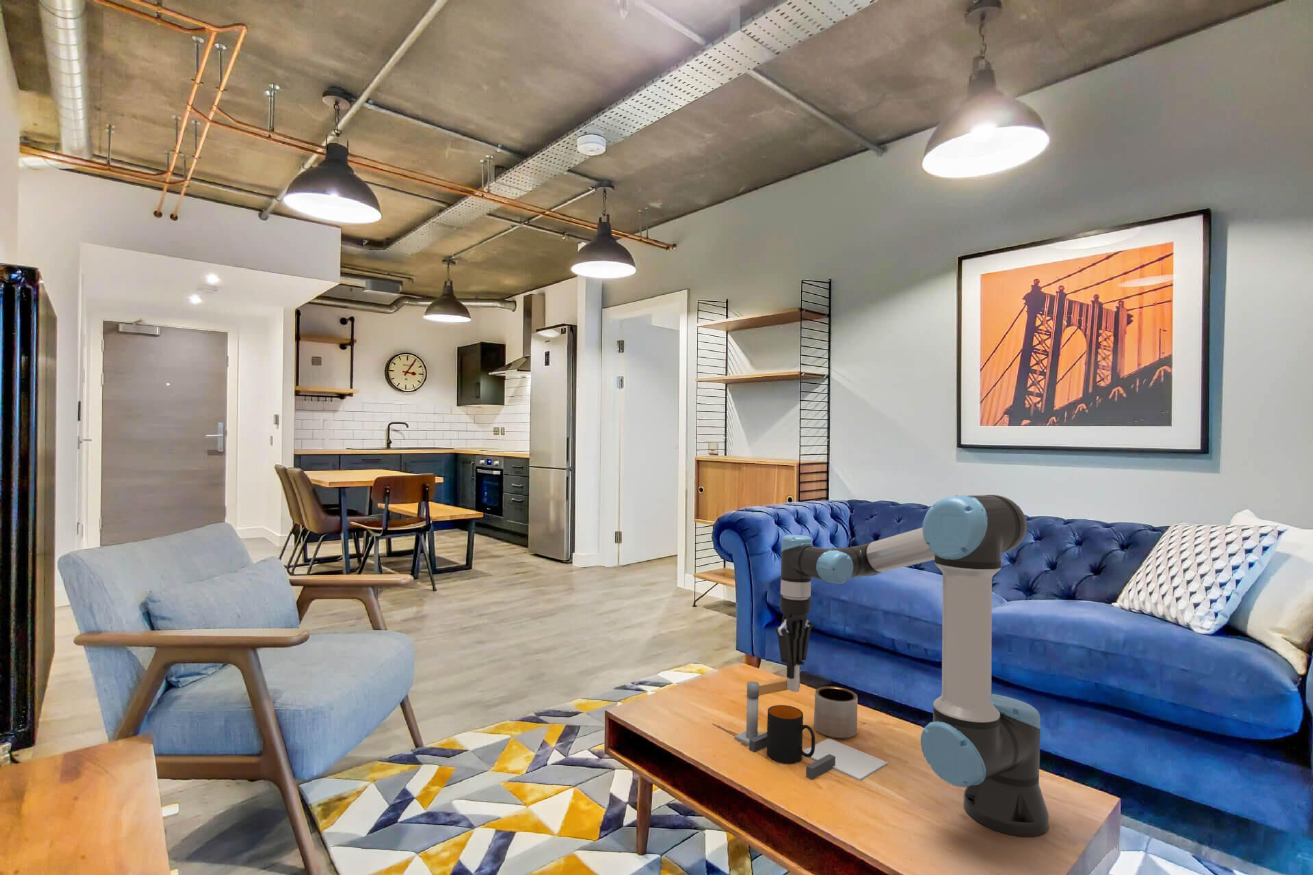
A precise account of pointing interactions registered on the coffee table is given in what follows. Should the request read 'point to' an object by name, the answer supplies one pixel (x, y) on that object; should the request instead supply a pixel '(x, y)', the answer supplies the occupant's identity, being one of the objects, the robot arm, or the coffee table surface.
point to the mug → (786, 734)
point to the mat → (847, 759)
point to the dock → (760, 741)
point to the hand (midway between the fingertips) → (792, 690)
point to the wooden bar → (766, 687)
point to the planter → (835, 712)
